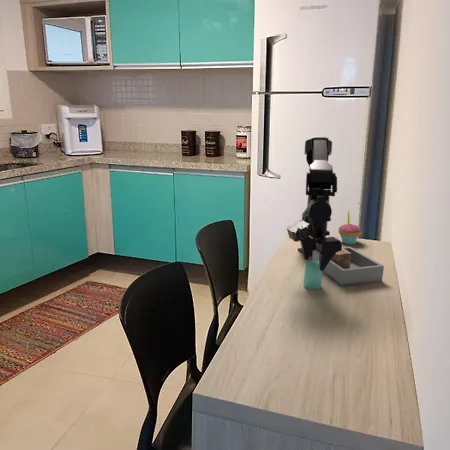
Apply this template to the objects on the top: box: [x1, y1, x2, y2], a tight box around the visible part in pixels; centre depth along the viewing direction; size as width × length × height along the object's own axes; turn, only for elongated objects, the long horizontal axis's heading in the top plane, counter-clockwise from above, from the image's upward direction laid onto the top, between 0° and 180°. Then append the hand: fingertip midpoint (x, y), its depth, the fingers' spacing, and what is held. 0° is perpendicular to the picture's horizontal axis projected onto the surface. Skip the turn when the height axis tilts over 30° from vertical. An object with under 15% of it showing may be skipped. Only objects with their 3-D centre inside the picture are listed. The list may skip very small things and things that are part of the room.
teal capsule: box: [303, 260, 323, 290], centre depth 129 cm, size 5×5×7 cm
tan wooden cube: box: [331, 248, 351, 269], centre depth 143 cm, size 5×5×5 cm
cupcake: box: [338, 210, 363, 245], centre depth 168 cm, size 9×8×12 cm
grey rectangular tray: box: [311, 246, 385, 288], centre depth 140 cm, size 18×14×5 cm
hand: (313, 264), depth 129 cm, fingers open, 9 cm apart
